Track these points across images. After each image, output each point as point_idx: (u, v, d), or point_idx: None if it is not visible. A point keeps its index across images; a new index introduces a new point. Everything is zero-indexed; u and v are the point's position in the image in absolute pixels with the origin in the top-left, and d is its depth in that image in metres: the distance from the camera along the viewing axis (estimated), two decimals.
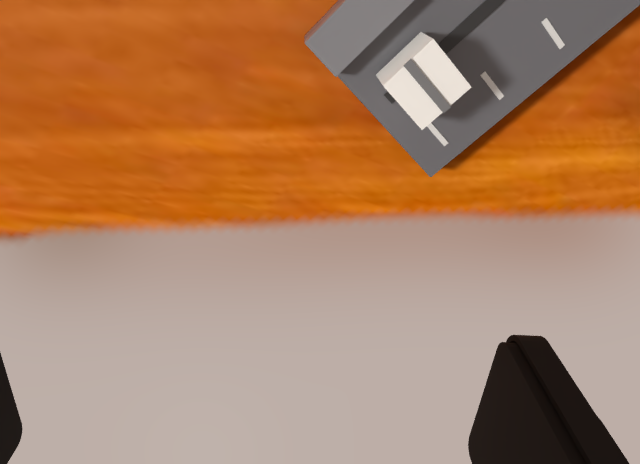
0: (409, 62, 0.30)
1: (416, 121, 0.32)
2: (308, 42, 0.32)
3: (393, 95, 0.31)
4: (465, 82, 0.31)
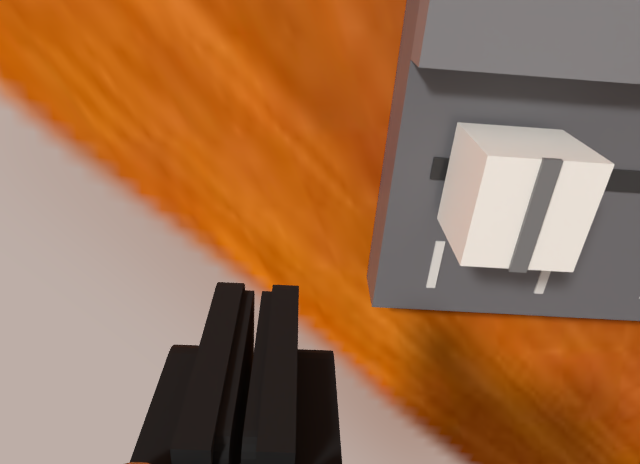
0: (553, 162, 0.15)
1: (467, 247, 0.17)
2: None
3: (483, 183, 0.15)
4: (574, 259, 0.17)
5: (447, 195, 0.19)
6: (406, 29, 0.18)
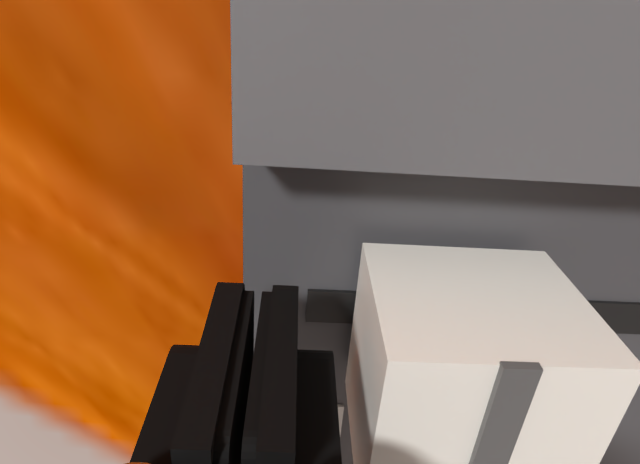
0: (524, 369, 0.07)
1: None
2: None
3: (386, 406, 0.08)
4: None
5: (353, 358, 0.11)
6: None
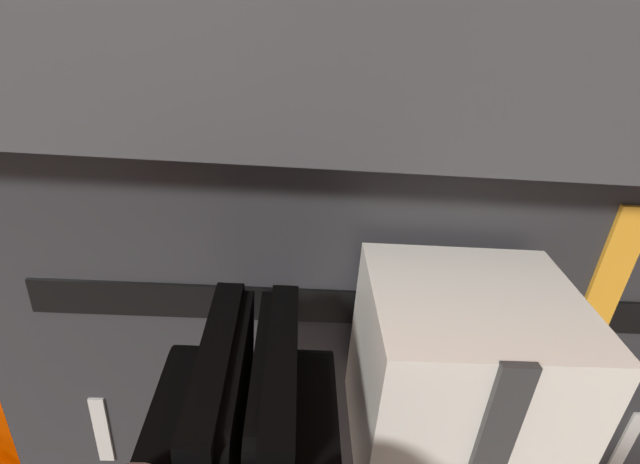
0: (523, 368, 0.07)
1: None
2: None
3: (385, 406, 0.08)
4: None
5: (352, 358, 0.11)
6: None
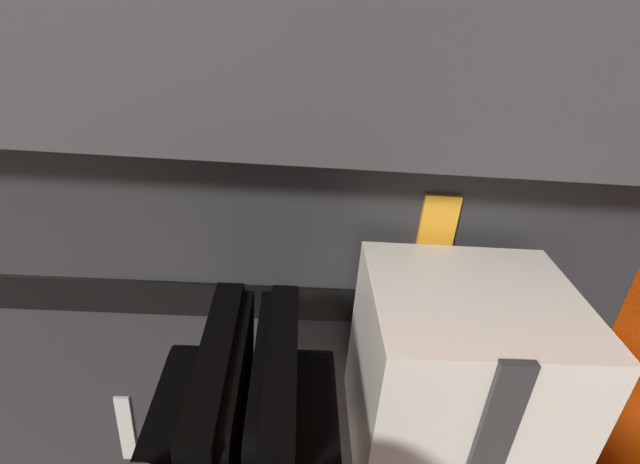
0: (522, 367, 0.07)
1: None
2: None
3: (384, 403, 0.08)
4: None
5: (351, 356, 0.11)
6: None
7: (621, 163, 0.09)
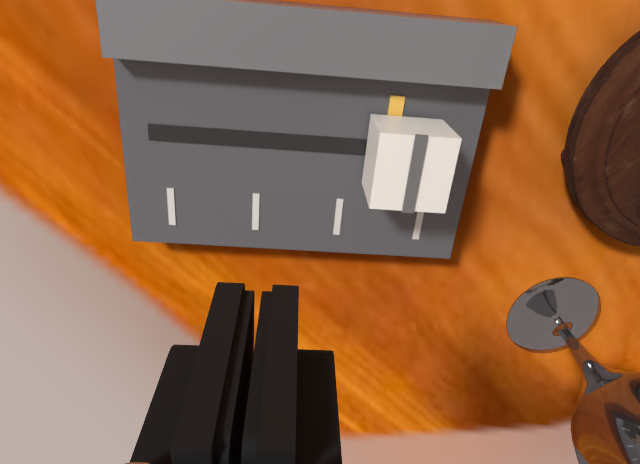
0: (423, 137, 0.24)
1: (372, 195, 0.25)
2: None
3: (379, 151, 0.24)
4: (445, 204, 0.25)
5: (365, 164, 0.27)
6: None
7: (457, 77, 0.25)
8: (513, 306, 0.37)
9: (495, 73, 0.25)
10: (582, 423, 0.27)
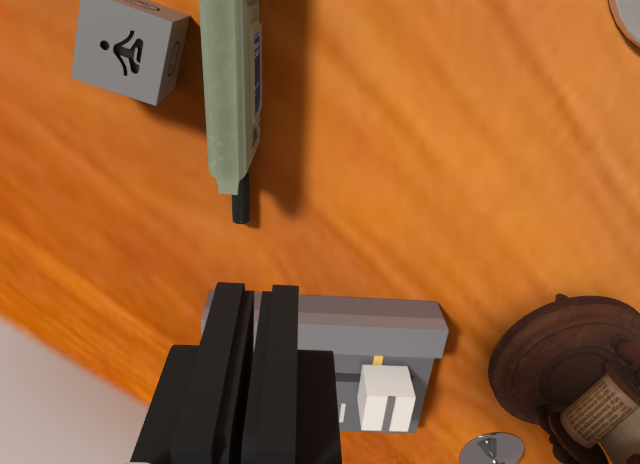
0: (392, 397, 0.40)
1: (363, 424, 0.41)
2: (203, 321, 0.39)
3: (366, 404, 0.40)
4: (407, 427, 0.41)
5: (359, 392, 0.43)
6: None
7: (414, 353, 0.41)
8: (463, 449, 0.53)
9: (437, 351, 0.41)
10: None
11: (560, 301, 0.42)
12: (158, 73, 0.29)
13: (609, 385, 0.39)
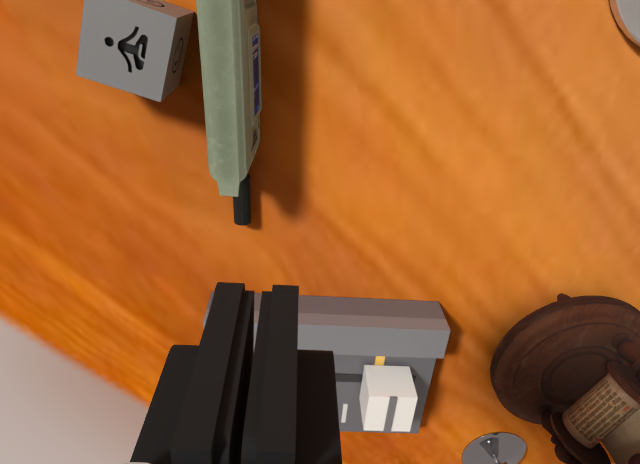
0: (394, 397, 0.40)
1: (365, 424, 0.41)
2: None
3: (368, 404, 0.40)
4: (409, 427, 0.42)
5: (361, 392, 0.44)
6: None
7: (415, 353, 0.41)
8: (465, 449, 0.53)
9: (439, 351, 0.41)
10: None
11: (562, 301, 0.42)
12: (163, 69, 0.29)
13: (611, 385, 0.39)
